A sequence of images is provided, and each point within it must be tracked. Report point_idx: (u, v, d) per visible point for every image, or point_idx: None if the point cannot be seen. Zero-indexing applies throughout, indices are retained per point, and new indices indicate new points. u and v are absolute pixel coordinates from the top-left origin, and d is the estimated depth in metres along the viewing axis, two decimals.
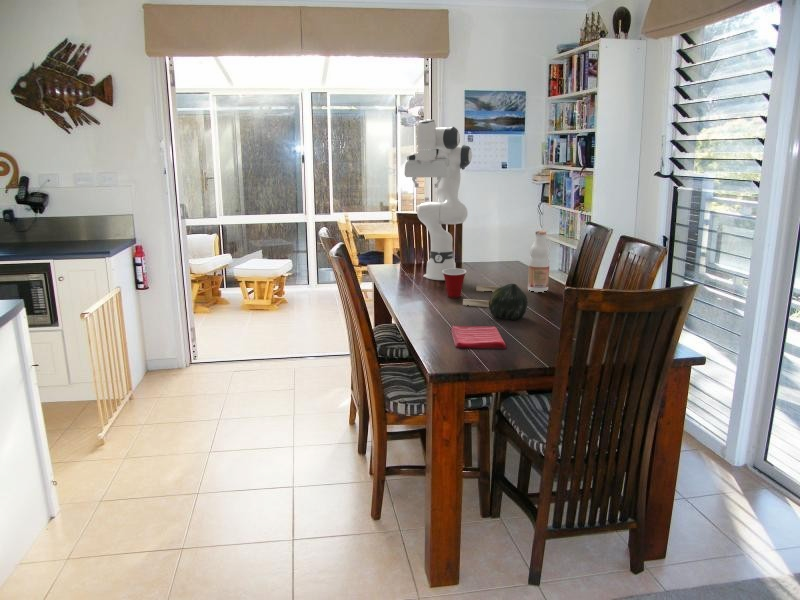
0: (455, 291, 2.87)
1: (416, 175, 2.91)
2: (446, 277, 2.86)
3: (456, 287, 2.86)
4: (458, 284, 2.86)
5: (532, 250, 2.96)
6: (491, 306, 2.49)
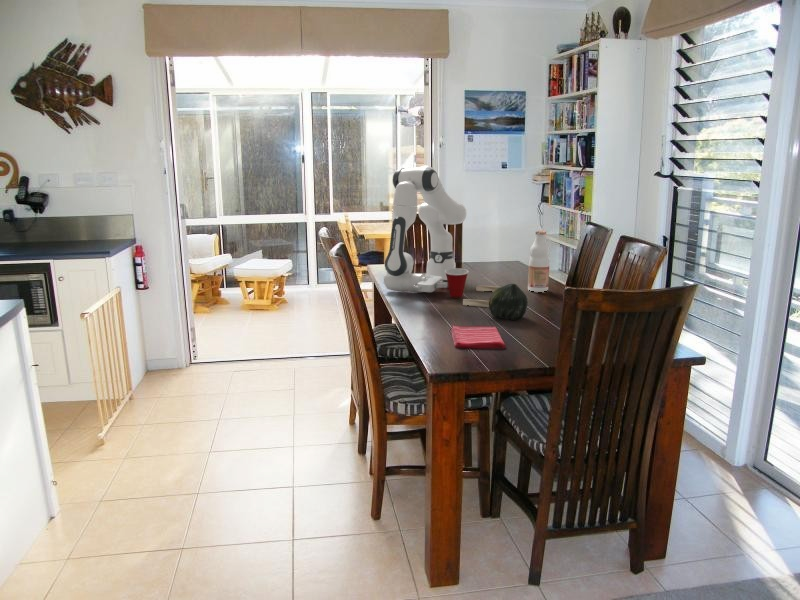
0: (458, 291, 2.87)
1: None
2: (449, 277, 2.85)
3: (459, 287, 2.86)
4: (461, 284, 2.85)
5: (532, 250, 2.96)
6: (491, 306, 2.49)
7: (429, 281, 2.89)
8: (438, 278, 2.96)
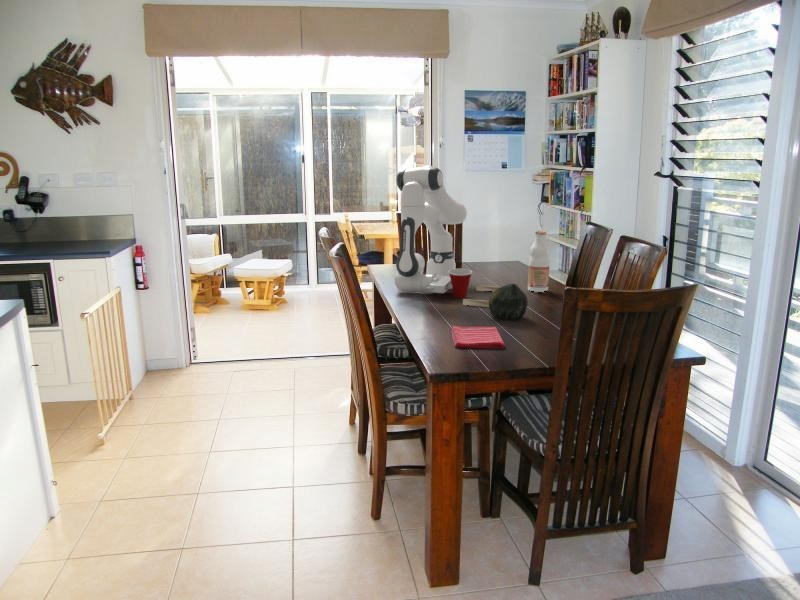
0: (463, 291, 2.86)
1: None
2: (454, 278, 2.84)
3: (464, 287, 2.85)
4: (466, 284, 2.85)
5: (532, 250, 2.96)
6: (491, 306, 2.49)
7: (441, 282, 2.87)
8: (449, 279, 2.94)
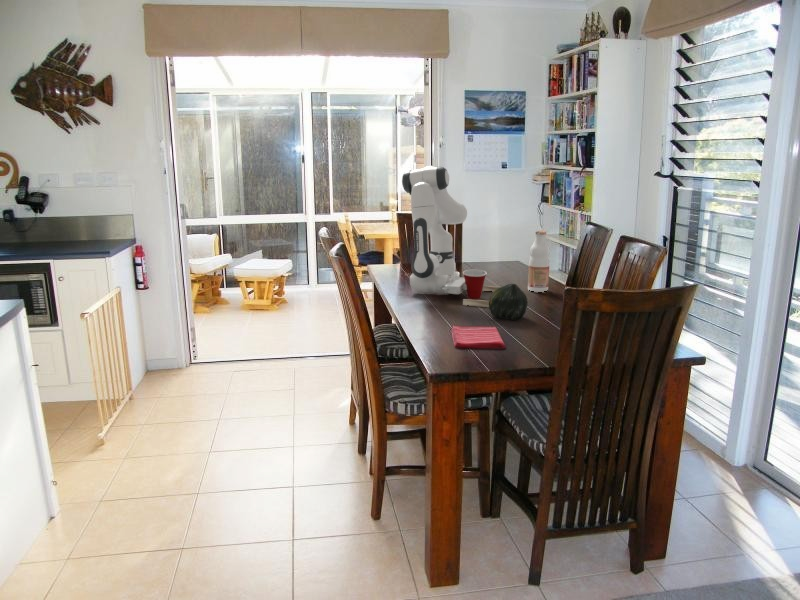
0: (478, 292, 2.84)
1: None
2: (469, 279, 2.82)
3: (479, 288, 2.83)
4: (480, 285, 2.83)
5: (532, 250, 2.96)
6: (491, 306, 2.49)
7: (456, 283, 2.85)
8: (464, 280, 2.92)
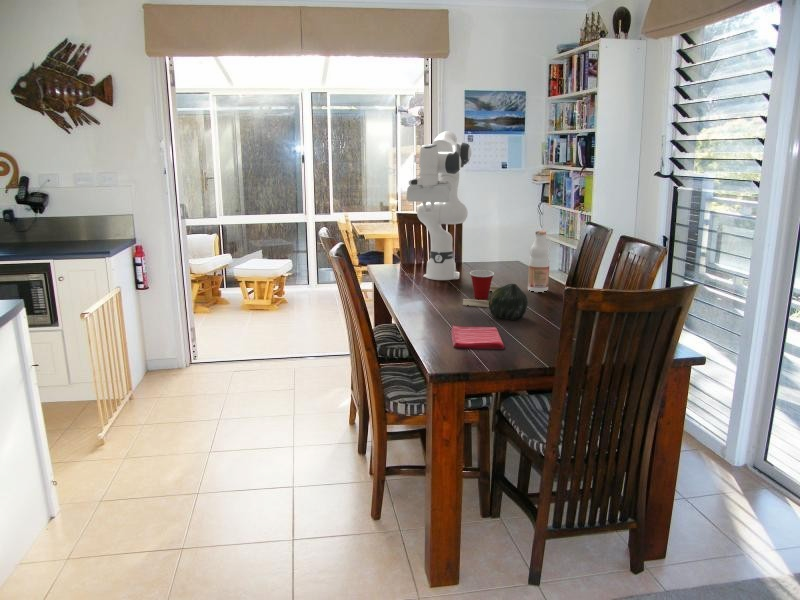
0: (485, 293, 2.83)
1: (418, 199, 2.90)
2: (476, 279, 2.81)
3: (486, 289, 2.82)
4: (488, 286, 2.82)
5: (532, 250, 2.96)
6: (491, 306, 2.49)
7: None
8: None
